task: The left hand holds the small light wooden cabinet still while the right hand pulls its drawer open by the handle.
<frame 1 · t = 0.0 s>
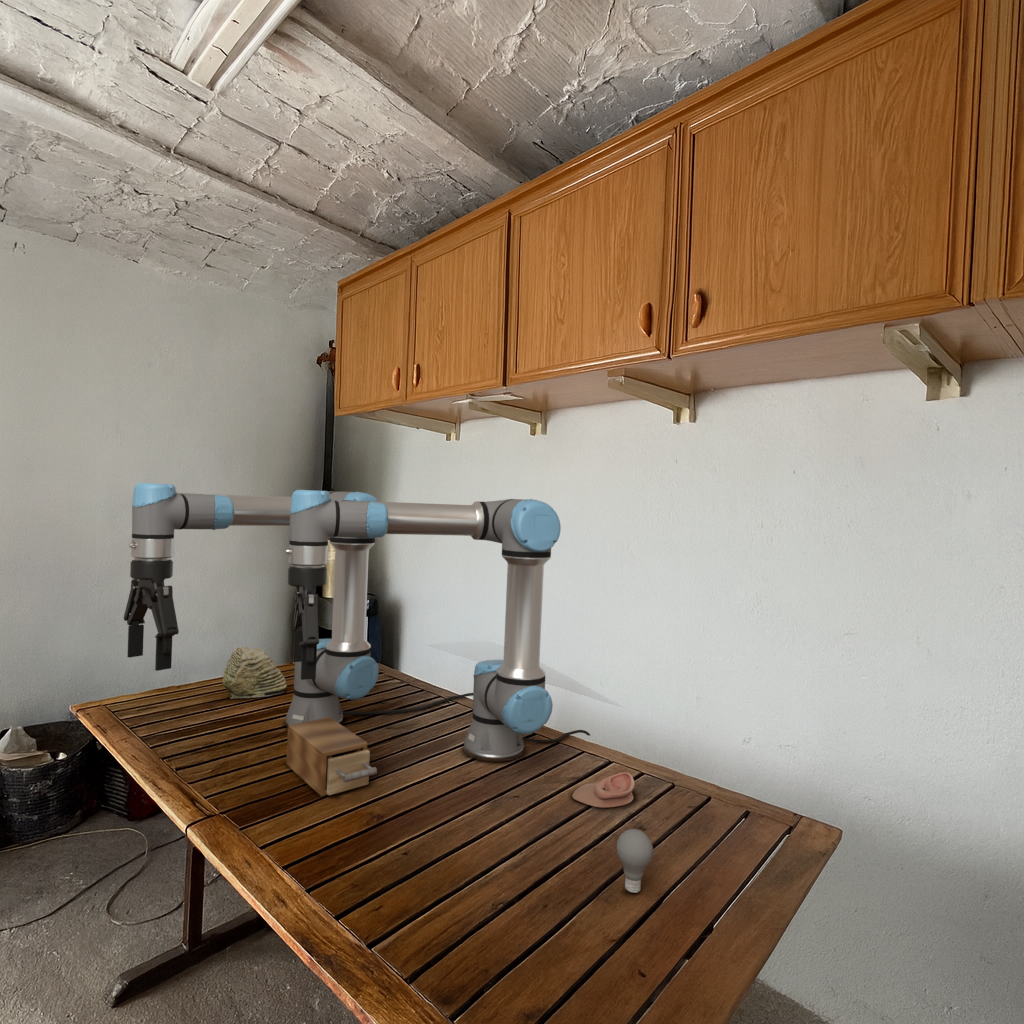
left hand: (148, 662, 129), 28 cm above the table, tool pointing down, fingers open, 13 cm apart
right hand: (303, 669, 129), 28 cm above the table, tool pointing down, fingers open, 13 cm apart
fossil: (254, 694, 198), on the table
anatomical model: (603, 797, 139), on the table
light bulb: (632, 891, 106), on the table
drawer: (336, 762, 140), point 5 cm above the table, slide at 1.2 cm
cabinet: (325, 773, 145), on the table
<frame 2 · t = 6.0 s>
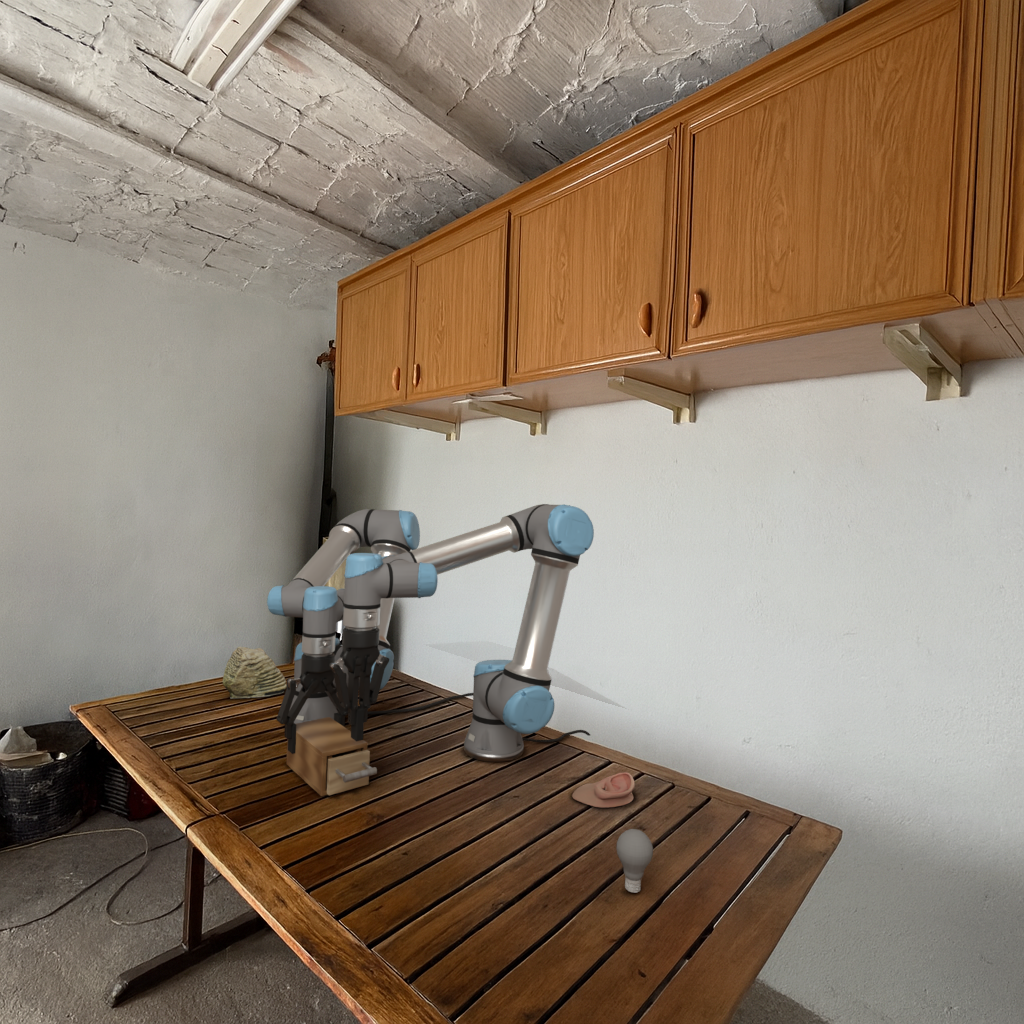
left hand: (314, 746, 149), 4 cm above the table, tool pointing down, fingers closed on cabinet, 10 cm apart
right hand: (356, 738, 133), 13 cm above the table, tool pointing down, fingers closed
cabinet: (325, 773, 145), on the table, touching left hand
everything else where it was.
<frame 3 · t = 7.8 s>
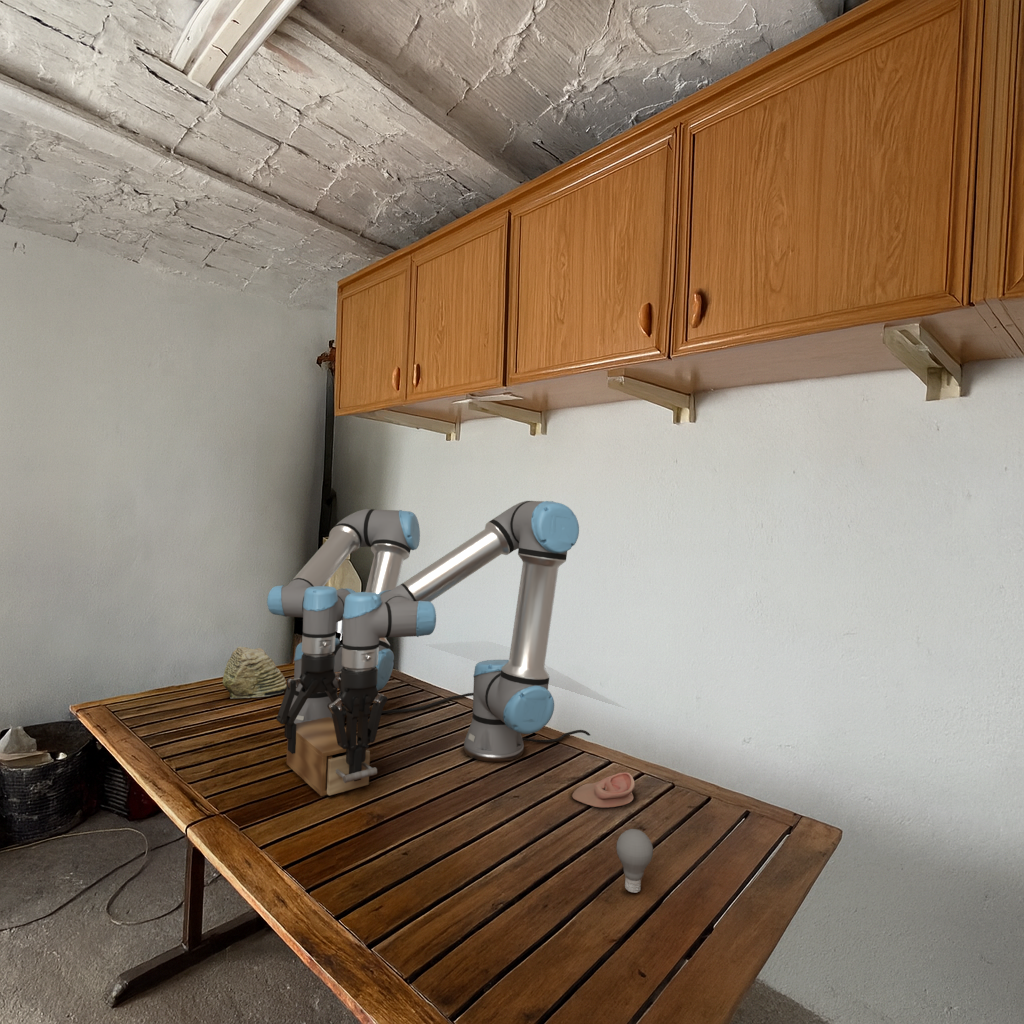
left hand: (314, 746, 149), 4 cm above the table, tool pointing down, fingers closed on cabinet, 10 cm apart
right hand: (354, 777, 133), 4 cm above the table, tool pointing down, fingers closed
drawer: (336, 762, 140), point 5 cm above the table, slide at 1.3 cm, touching right hand
cabinet: (324, 773, 145), on the table, touching left hand
everything else where it was.
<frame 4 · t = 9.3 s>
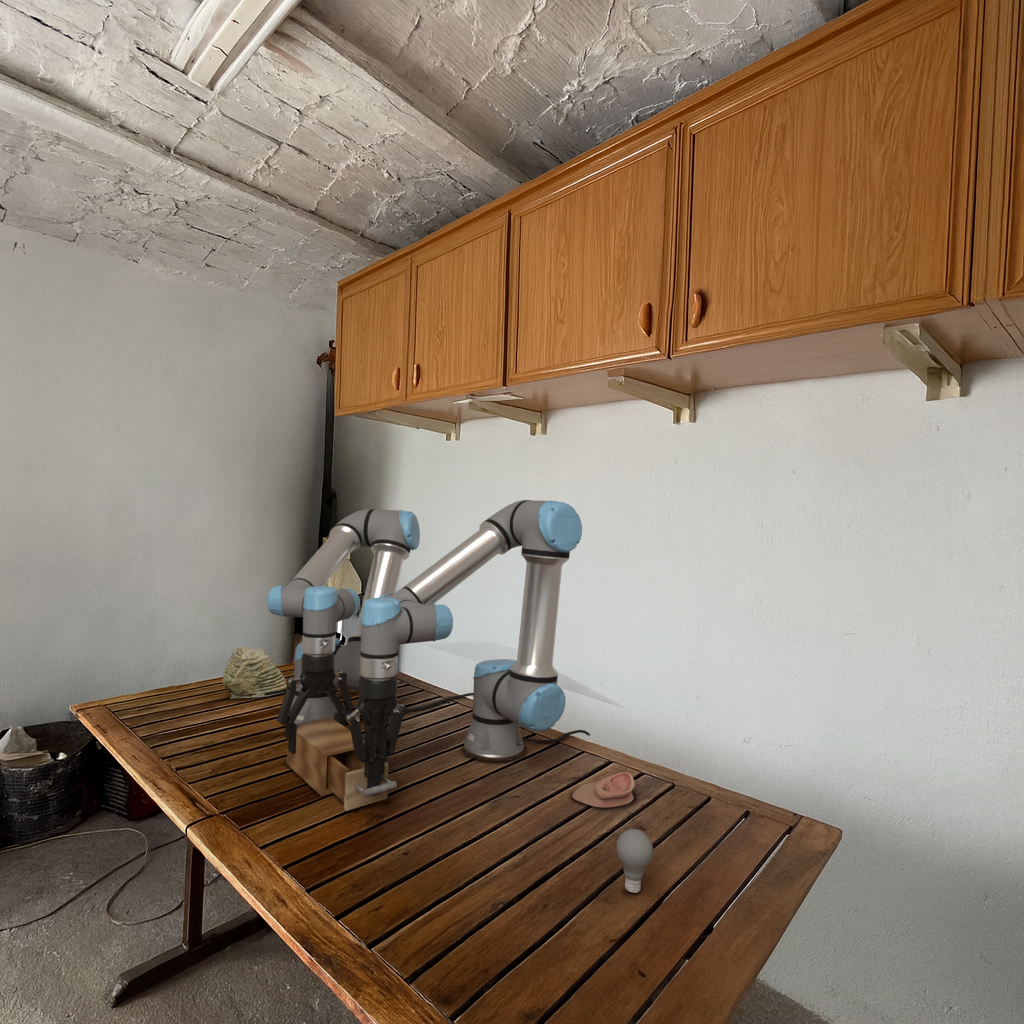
left hand: (315, 746, 149), 4 cm above the table, tool pointing down, fingers closed on cabinet, 10 cm apart
right hand: (373, 792, 127), 4 cm above the table, tool pointing down, fingers closed
drawer: (353, 775, 134), point 5 cm above the table, slide at 9.2 cm, touching right hand
cabinet: (325, 773, 145), on the table, touching left hand
everything else where it was.
when the left hand's fingers open (4 cm above the table, at t = 10.9 s): cabinet stays where it is, on the table.
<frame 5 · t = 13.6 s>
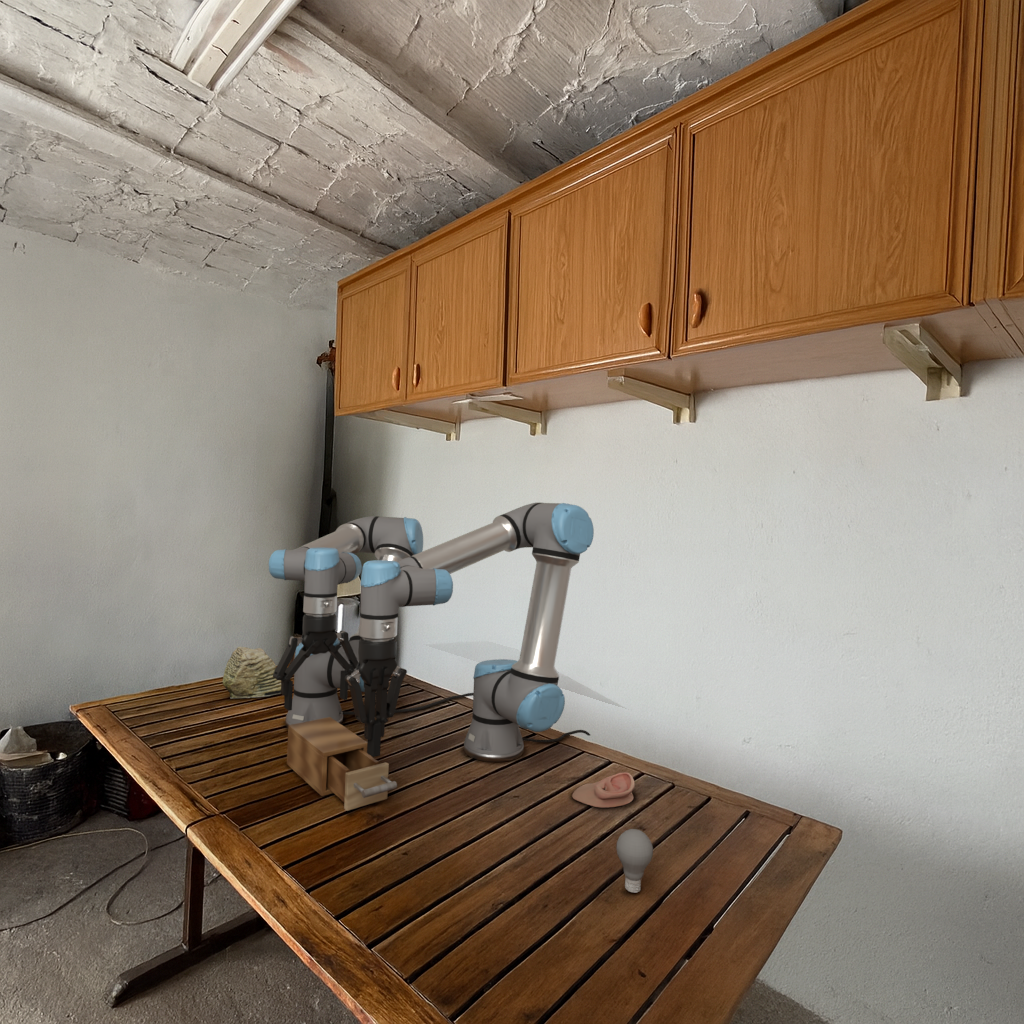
left hand: (316, 703, 149), 14 cm above the table, tool pointing down, fingers open, 13 cm apart
right hand: (373, 753, 128), 12 cm above the table, tool pointing down, fingers closed
drawer: (353, 775, 134), point 5 cm above the table, slide at 9.3 cm
cabinet: (325, 773, 145), on the table
everything else where it was.
at the end: drawer slide at 9.3 cm; cabinet tilted 0°; cabinet never tilted more than 1° during the clip; cabinet moved 0.1 cm from its start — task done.
